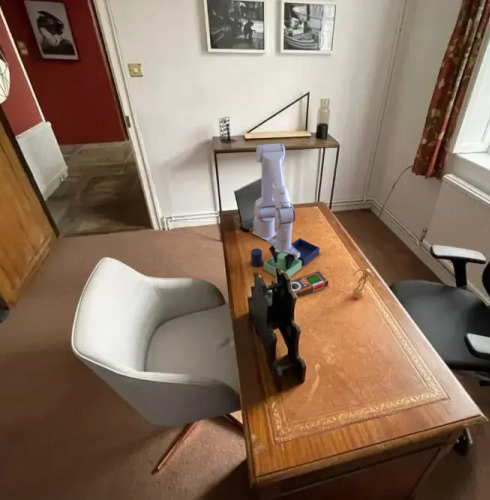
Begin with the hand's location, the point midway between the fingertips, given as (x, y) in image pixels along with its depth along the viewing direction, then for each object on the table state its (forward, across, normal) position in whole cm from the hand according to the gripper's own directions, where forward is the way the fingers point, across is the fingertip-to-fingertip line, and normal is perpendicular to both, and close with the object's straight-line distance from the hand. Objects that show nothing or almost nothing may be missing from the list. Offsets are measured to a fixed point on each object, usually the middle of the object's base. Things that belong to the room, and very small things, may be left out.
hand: (282, 264), depth 125 cm
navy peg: (+2, -10, -4) cm, 11 cm away
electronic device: (+2, +14, -2) cm, 14 cm away
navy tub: (+2, 0, +12) cm, 13 cm away
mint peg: (+2, 0, 0) cm, 2 cm away
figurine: (+2, +30, +7) cm, 31 cm away
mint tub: (+2, 0, 0) cm, 2 cm away
